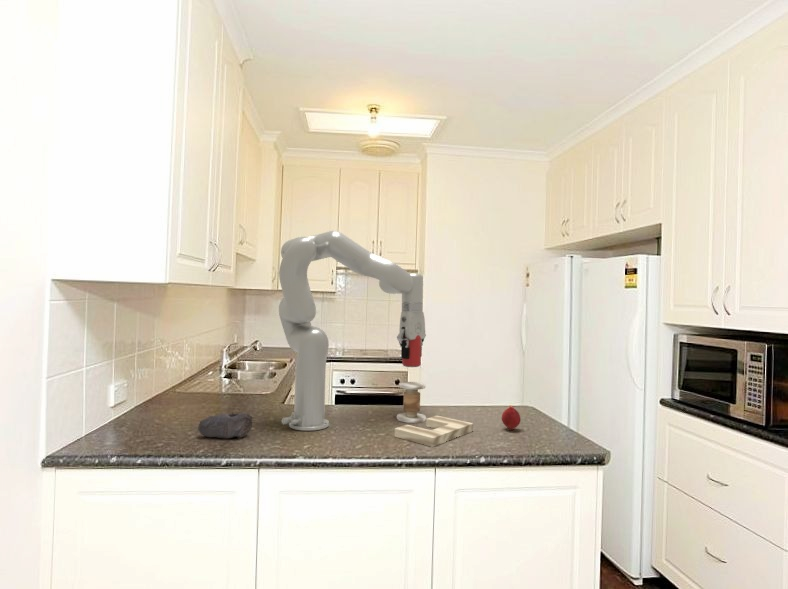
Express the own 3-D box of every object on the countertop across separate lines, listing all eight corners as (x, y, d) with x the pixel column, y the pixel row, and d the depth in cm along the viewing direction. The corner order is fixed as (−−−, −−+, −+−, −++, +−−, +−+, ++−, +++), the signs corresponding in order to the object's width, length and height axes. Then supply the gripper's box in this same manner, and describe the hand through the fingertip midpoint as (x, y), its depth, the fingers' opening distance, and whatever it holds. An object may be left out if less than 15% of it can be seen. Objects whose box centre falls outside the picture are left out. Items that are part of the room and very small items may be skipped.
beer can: (420, 364, 176) (421, 332, 176) (420, 367, 169) (420, 333, 169) (402, 364, 176) (403, 331, 176) (401, 367, 170) (402, 333, 170)
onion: (521, 429, 156) (522, 404, 156) (518, 433, 151) (518, 408, 151) (503, 426, 158) (504, 402, 158) (499, 430, 153) (500, 405, 153)
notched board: (432, 447, 135) (433, 438, 135) (394, 436, 144) (394, 428, 144) (473, 431, 152) (473, 423, 152) (436, 422, 161) (436, 415, 161)
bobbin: (414, 424, 158) (415, 388, 158) (390, 419, 165) (391, 383, 165) (431, 419, 166) (432, 384, 166) (408, 414, 172) (409, 380, 172)
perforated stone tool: (194, 439, 137) (195, 415, 137) (201, 434, 142) (202, 410, 142) (247, 440, 137) (248, 416, 137) (252, 435, 142) (253, 412, 142)
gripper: (405, 308, 164) (405, 361, 164) (434, 307, 177) (433, 356, 177) (388, 308, 168) (388, 359, 168) (417, 307, 182) (417, 354, 182)
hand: (411, 357), depth 173 cm, fingers closed on beer can, 6 cm apart
